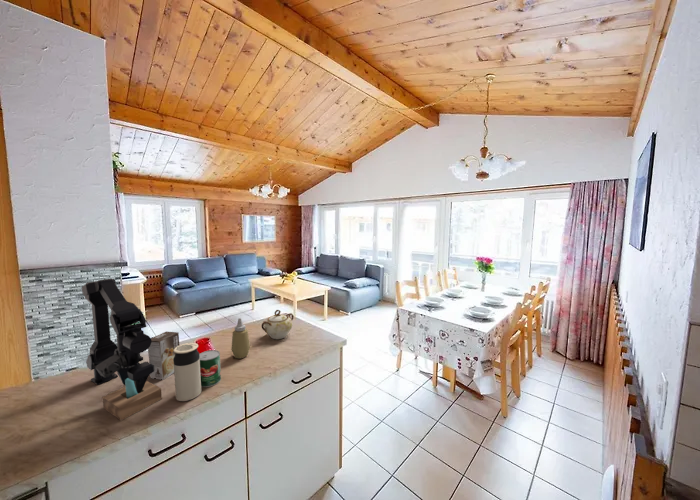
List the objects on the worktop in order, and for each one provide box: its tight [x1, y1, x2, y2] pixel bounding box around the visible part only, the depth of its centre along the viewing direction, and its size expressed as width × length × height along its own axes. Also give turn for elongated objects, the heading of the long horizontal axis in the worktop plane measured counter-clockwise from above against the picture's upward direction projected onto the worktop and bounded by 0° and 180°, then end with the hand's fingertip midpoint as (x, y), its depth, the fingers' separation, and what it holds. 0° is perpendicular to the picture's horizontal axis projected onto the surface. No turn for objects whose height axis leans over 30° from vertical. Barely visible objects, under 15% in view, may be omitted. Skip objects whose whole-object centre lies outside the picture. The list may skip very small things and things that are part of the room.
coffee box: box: [147, 331, 180, 381], centre depth 112 cm, size 9×6×16 cm
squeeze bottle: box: [230, 317, 251, 359], centre depth 127 cm, size 8×8×18 cm
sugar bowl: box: [261, 309, 295, 340], centre depth 149 cm, size 20×15×15 cm
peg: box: [124, 378, 138, 399], centre depth 94 cm, size 3×3×9 cm
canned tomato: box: [199, 349, 222, 388], centre depth 107 cm, size 8×8×11 cm
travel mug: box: [173, 342, 202, 402], centre depth 98 cm, size 8×8×18 cm
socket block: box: [101, 380, 163, 421], centre depth 94 cm, size 12×12×4 cm
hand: (132, 388), depth 94 cm, fingers open, 9 cm apart
